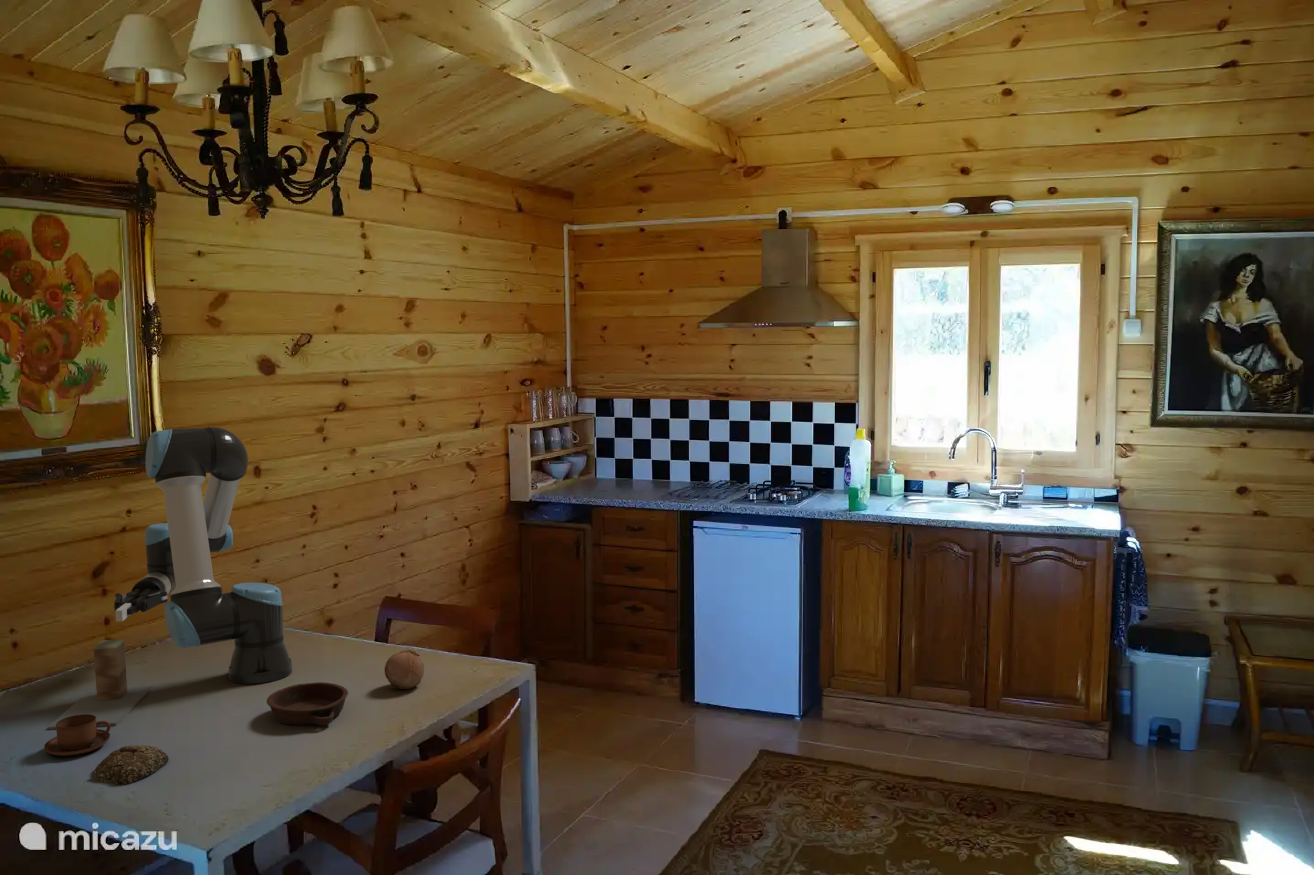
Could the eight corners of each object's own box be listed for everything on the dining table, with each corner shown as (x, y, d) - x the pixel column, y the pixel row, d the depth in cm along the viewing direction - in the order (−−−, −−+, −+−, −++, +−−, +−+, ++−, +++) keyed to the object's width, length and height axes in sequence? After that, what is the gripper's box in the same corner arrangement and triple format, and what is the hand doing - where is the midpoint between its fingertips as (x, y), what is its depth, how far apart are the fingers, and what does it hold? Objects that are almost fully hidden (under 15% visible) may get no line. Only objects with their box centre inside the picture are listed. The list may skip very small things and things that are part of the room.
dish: (285, 740, 219) (284, 718, 218) (254, 710, 236) (253, 689, 235) (364, 721, 229) (363, 699, 229) (328, 693, 246) (327, 673, 246)
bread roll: (178, 762, 208) (176, 738, 208) (131, 788, 196) (130, 763, 196) (126, 755, 212) (124, 732, 211) (77, 780, 200) (76, 756, 199)
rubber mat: (152, 688, 250) (151, 685, 250) (116, 725, 227) (116, 722, 227) (90, 691, 248) (90, 689, 248) (48, 729, 225) (48, 726, 225)
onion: (411, 693, 254) (421, 653, 257) (424, 694, 246) (434, 652, 250) (375, 685, 250) (385, 645, 253) (386, 686, 242) (397, 644, 245)
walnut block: (127, 691, 246) (124, 639, 245) (119, 699, 241) (116, 645, 240) (105, 692, 245) (101, 640, 244) (97, 700, 240) (93, 646, 239)
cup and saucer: (100, 733, 223) (98, 705, 222) (118, 748, 214) (116, 720, 214) (38, 749, 215) (35, 720, 214) (54, 766, 206) (52, 736, 205)
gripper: (177, 602, 274) (148, 629, 251) (125, 604, 272) (91, 632, 249) (176, 575, 273) (146, 600, 250) (124, 577, 271) (89, 602, 248)
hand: (118, 616), depth 249 cm, fingers closed
